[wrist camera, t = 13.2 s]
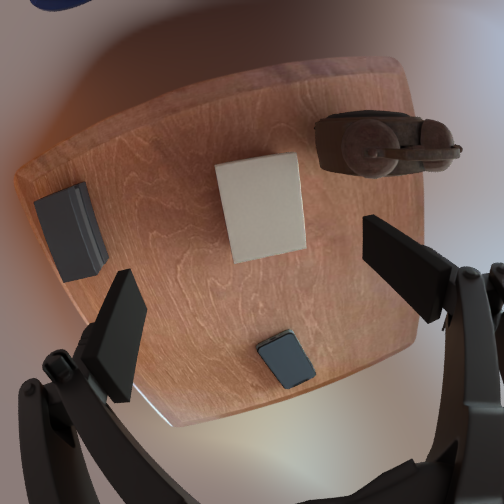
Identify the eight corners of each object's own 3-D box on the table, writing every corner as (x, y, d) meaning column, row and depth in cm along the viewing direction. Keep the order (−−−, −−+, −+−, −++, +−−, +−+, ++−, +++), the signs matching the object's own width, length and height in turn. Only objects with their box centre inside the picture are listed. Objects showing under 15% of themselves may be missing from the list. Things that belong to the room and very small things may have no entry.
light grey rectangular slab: (214, 164, 33) (214, 166, 32) (293, 151, 34) (296, 152, 33) (233, 259, 39) (234, 264, 38) (303, 244, 40) (306, 248, 38)
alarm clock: (380, 110, 36) (482, 115, 18) (384, 155, 39) (483, 184, 21) (292, 115, 35) (373, 107, 17) (299, 166, 38) (379, 201, 20)
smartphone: (293, 331, 48) (318, 375, 54) (290, 325, 50) (315, 370, 56) (254, 349, 49) (285, 391, 55) (253, 343, 50) (283, 385, 56)
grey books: (52, 191, 33) (32, 202, 28) (85, 179, 34) (67, 188, 28) (77, 265, 38) (63, 284, 33) (109, 257, 39) (97, 276, 33)
